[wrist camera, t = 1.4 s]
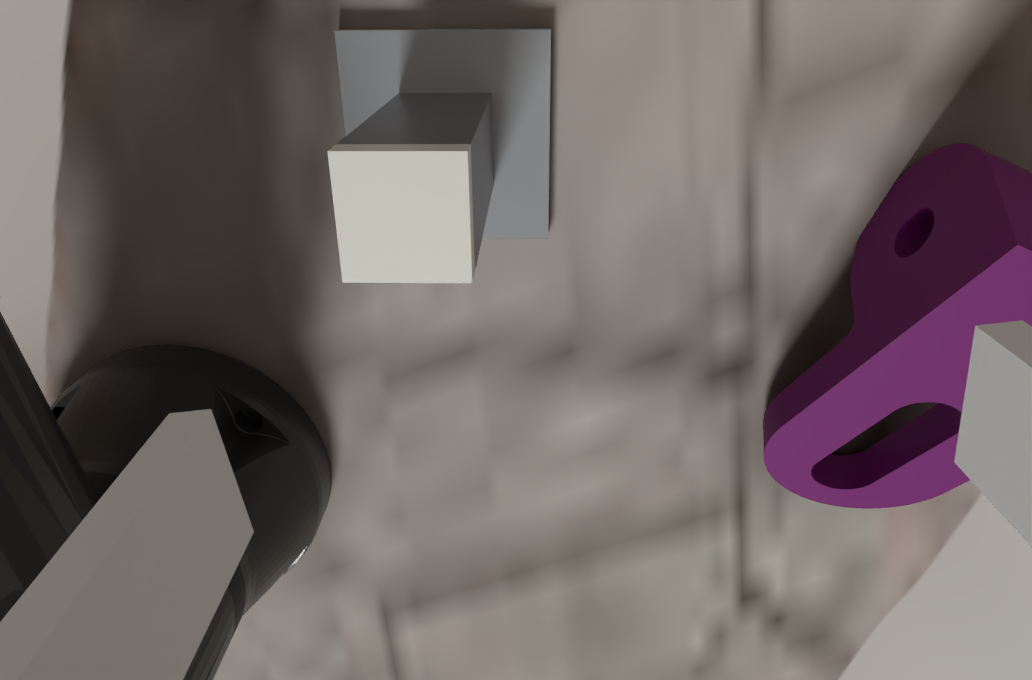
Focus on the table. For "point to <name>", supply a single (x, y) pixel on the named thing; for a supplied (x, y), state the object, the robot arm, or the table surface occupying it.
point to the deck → (467, 69)
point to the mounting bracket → (909, 334)
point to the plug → (414, 189)
